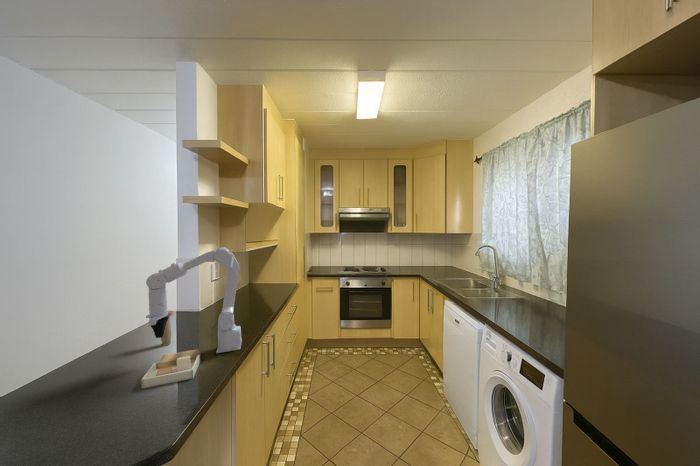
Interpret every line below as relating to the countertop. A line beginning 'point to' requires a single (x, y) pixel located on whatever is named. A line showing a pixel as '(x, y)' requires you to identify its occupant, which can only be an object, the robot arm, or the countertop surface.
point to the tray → (168, 375)
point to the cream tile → (183, 363)
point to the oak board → (172, 358)
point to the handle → (167, 331)
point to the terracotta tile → (164, 371)
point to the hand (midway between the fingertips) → (159, 337)
